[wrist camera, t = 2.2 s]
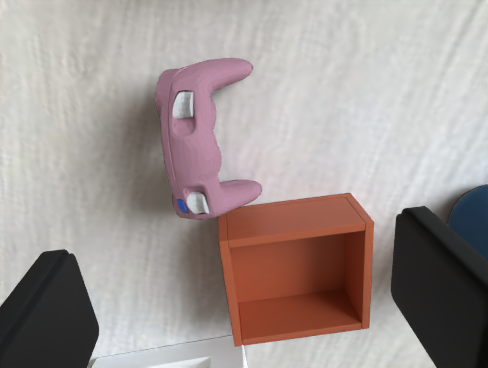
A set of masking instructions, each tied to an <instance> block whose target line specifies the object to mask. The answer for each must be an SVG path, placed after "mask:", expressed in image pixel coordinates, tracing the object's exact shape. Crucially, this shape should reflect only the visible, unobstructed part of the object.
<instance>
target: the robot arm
mask: <svg viewBox="0 0 488 368" xmlns="http://www.w3.org/2000/svg"><path fill="white" fill-rule="evenodd" d="M391 294H392V297H393V300H394V302H395V303H396V305H397V306H398V308H399V309H400V311H401V313H402V314H403V316H404V317H405V319H406V320H407V322H408V324H409V325H410V327H411V328H412V330H413V331H414V333H415V335H416V336H417V338H418V339H419V341H420V342H421V344H422V345H423V347H424V349H425V350H426V352H427V353H428V355H429V356H430V358H431V360H432V361H433V363H434V364H435V366H436V367H437V368H488V260H487V259H485V258H484V257H483V256H482V255H481V254H480V253H479V252H477V251H476V250H475V249H474V248H473V247H472V246H471V245H469V244H468V243H467V242H466V241H465V240H464V239H463V238H461V237H460V236H459V235H458V234H457V233H456V232H454V231H453V230H452V229H451V228H450V227H449V226H448V225H446V224H445V223H444V222H443V221H442V220H441V219H440V218H438V217H437V216H436V215H435V214H434V213H433V212H432V211H430V210H429V209H428V208H427V207H425V206H422V207H413V208H405V209H403V211H402V214H398V215H397V217H396V226H395V239H394V252H393V265H392V278H391ZM98 336H99V325H98V322H97V319H96V316H95V313H94V310H93V307H92V304H91V301H90V298H89V295H88V292H87V289H86V287H85V284H84V281H83V278H82V275H81V272H80V269H79V266H78V263H77V260H76V257H75V256H74V254H69V253H68V251H67V250H65V249H63V250H55V251H46V252H43V253H42V254H41V255H40V256H39V257H38V259H37V260H36V261H35V262H34V264H33V265H32V266H31V268H30V269H29V270H28V272H27V273H26V274H25V275H24V277H23V278H22V279H21V281H20V282H19V283H18V285H17V286H16V287H15V288H14V290H13V291H12V292H11V294H10V295H9V296H8V298H7V299H6V300H5V302H4V303H3V304H2V305H1V307H0V368H87V365H88V363H89V360H90V358H91V355H92V352H93V350H94V347H95V344H96V342H97V339H98Z"/></svg>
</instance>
